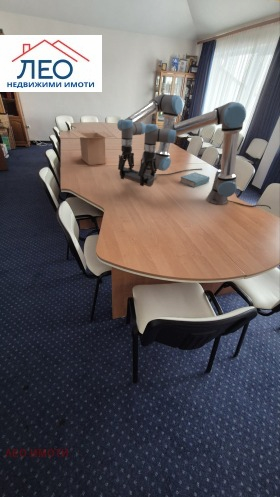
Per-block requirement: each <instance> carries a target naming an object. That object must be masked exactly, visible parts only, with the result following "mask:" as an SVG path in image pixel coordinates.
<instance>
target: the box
mask: <svg viewBox="0 0 280 497" xmlns="http://www.w3.org/2000/svg"><path fill="white" fill-rule="evenodd" d="M70 133H71V134H72V135H74V136H75V137H77V138H79V144H80V153H81V160H83V162H85V163H86V165H87V166H95V165H97V166H98V165H106V163H107V162H106V158H107V157H106V138H113V137H114V136H113V135H111V134H109V133H108V132H105V131H98V132H96V131H95V130H92V129H91V130H77V132H76V131H70Z"/></svg>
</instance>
